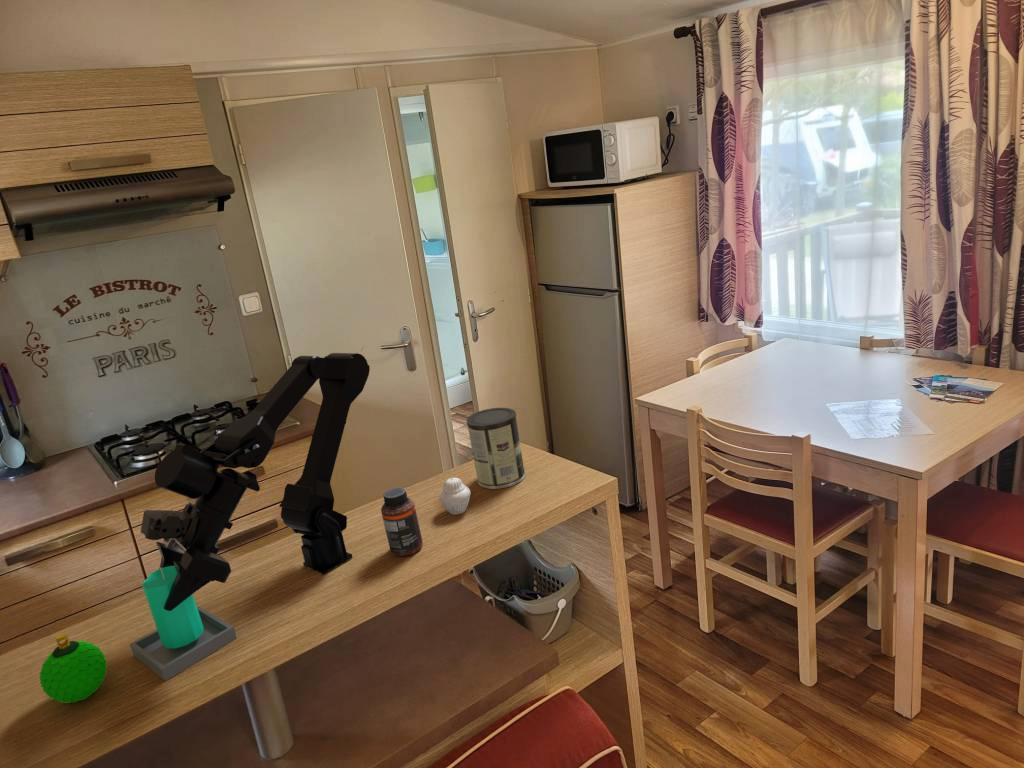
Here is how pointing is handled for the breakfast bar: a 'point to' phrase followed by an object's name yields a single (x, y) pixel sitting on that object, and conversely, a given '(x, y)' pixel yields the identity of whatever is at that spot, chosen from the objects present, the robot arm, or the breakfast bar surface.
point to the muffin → (455, 496)
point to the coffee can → (496, 447)
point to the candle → (178, 622)
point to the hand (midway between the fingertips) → (161, 603)
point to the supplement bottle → (401, 523)
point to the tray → (183, 647)
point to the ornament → (73, 670)
